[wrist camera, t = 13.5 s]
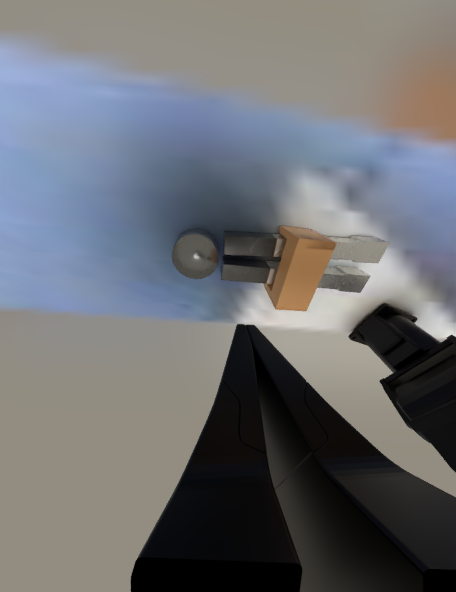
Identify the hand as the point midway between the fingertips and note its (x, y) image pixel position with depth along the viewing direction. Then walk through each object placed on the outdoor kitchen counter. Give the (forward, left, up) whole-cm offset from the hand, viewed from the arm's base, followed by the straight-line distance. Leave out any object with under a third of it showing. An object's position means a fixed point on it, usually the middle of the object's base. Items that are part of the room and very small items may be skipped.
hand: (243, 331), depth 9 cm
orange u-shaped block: (-6, -2, -11) cm, 13 cm away
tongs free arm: (-6, -4, -11) cm, 13 cm away
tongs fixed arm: (-5, -1, -11) cm, 12 cm away
